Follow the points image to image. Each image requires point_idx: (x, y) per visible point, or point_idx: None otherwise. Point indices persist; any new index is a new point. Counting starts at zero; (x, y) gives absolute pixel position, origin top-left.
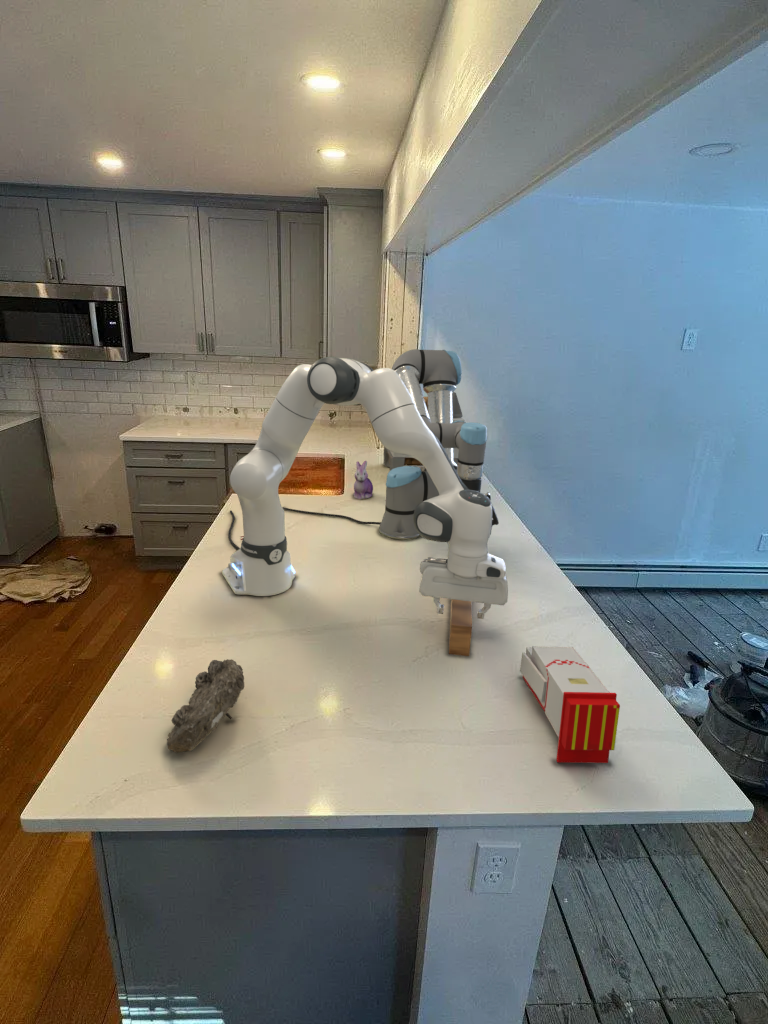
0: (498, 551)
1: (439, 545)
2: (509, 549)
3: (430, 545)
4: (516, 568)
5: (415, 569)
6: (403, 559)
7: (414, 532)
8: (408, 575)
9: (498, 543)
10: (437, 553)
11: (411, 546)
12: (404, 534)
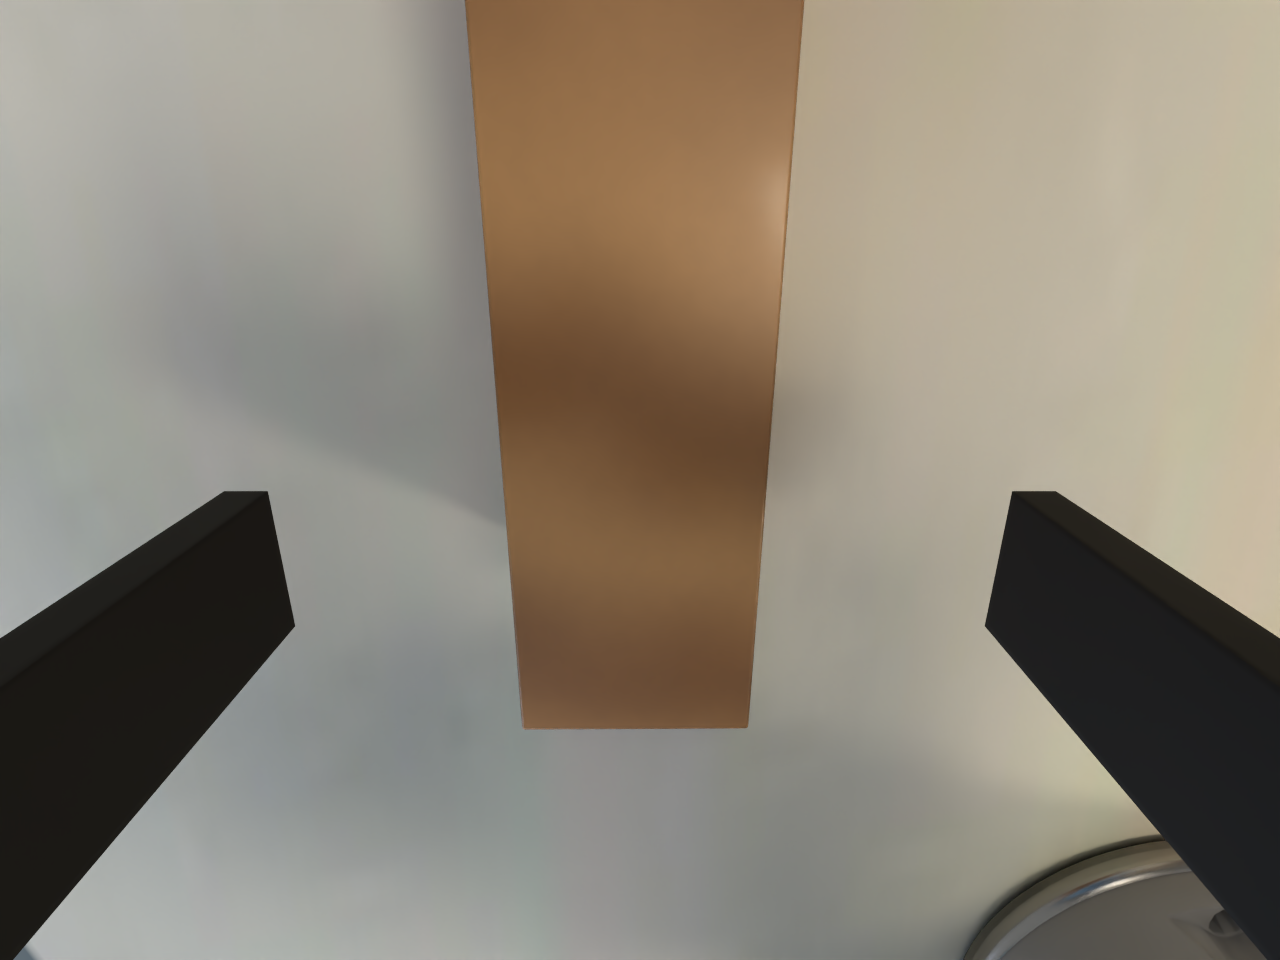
0: (288, 806)
1: (821, 814)
2: (200, 857)
3: (904, 799)
4: (48, 501)
5: (1149, 231)
6: (1232, 462)
7: (1078, 941)
8: (1276, 26)
9: (311, 935)
10: (853, 662)
11: (1087, 750)
12: (1179, 895)
